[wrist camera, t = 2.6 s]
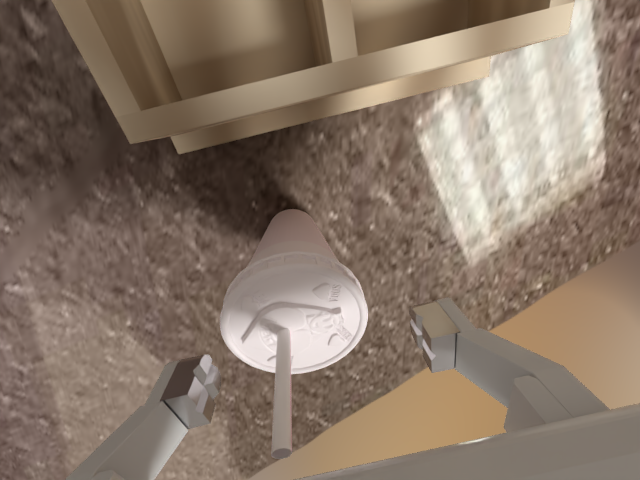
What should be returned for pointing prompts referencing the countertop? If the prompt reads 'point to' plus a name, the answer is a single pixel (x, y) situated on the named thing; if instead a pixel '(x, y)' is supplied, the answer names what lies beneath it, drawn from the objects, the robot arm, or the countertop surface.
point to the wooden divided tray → (286, 57)
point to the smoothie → (292, 311)
